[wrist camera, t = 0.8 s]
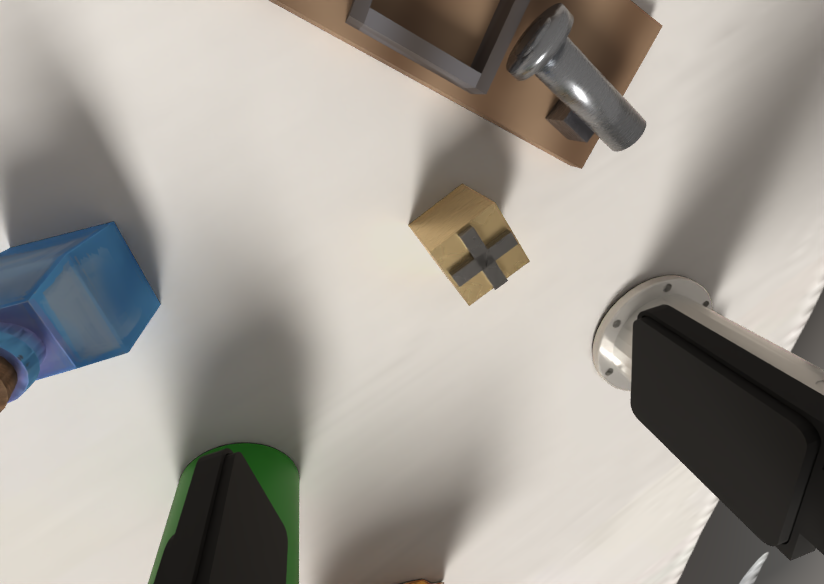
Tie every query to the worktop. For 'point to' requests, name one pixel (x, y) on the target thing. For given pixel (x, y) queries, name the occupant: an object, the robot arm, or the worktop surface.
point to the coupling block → (470, 242)
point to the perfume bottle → (68, 305)
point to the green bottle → (277, 484)
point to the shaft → (573, 83)
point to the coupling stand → (488, 52)
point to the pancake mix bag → (421, 582)
